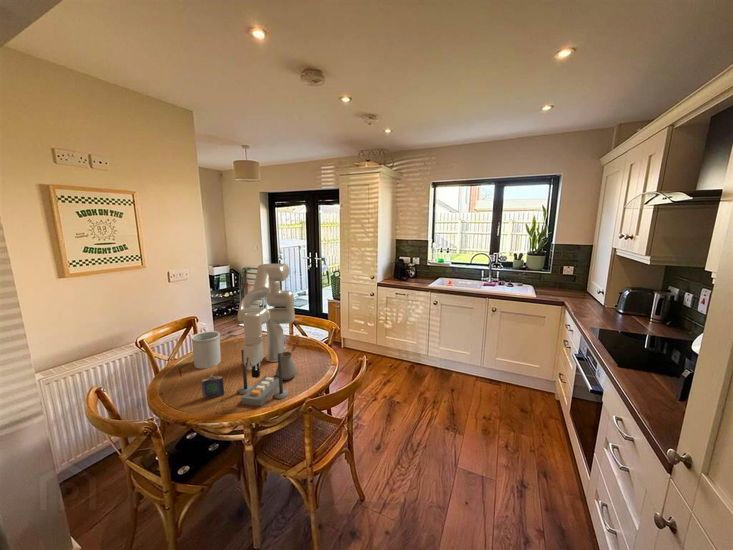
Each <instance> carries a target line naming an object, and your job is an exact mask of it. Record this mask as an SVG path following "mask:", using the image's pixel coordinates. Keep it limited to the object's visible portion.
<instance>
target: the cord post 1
mask: <svg viewBox="0 0 733 550" xmlns="http://www.w3.org/2000/svg"><path fill="white" fill-rule="evenodd" d="M240 351H241V352H240V353H241V365H242V379H243V385H242V386H240V387H239V388H238V393H239V394H240V395H245V394H246V393H247V392H248V391H249V390H250V389H251V388H252V387H253V386H252V385H251V384H248V376H247V365H246V366H244V349H241V350H240Z"/></svg>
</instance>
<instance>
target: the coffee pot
mask: <svg viewBox="0 0 733 550" xmlns="http://www.w3.org/2000/svg"><path fill="white" fill-rule="evenodd" d="M299 344H300V340H299V339H297V341H296V342H295V343H294V345H293V347H292V350H291V351H284V352H283V353H281V360H282V381H288V380H291V379H293V378H294V377H296V375H297V374H298V373H297V372H298V369H297V367H296V364H295V362H294V361H293V359H292V355H293V352H294V351H295V349H296V347H297V345H299ZM274 373H275V377H278V378H279V372H278V366H277V368H276V370H275V372H274Z"/></svg>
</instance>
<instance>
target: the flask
mask: <svg viewBox="0 0 733 550" xmlns="http://www.w3.org/2000/svg"><path fill="white" fill-rule="evenodd" d="M200 383H201V384H200V385H201V393H202V399H205V400H206V399H211V398H216V397H222V396H224V395H225V388H224V378H223V376H215V375H214V374H213V373H212V374H210V376H209V377H208V378H204V379H201V381H200Z"/></svg>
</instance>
